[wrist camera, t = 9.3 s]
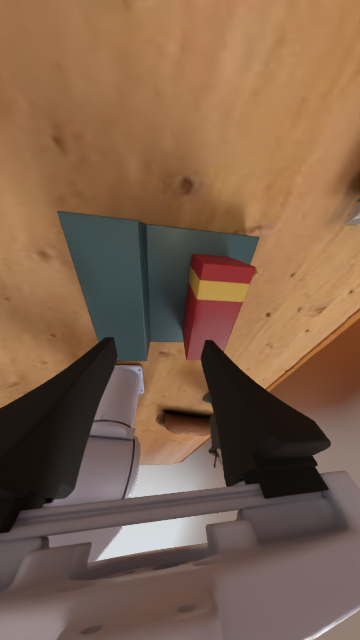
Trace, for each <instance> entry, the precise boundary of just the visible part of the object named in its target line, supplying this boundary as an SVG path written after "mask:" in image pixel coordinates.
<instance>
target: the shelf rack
mask: <svg viewBox="0 0 360 640" xmlns="http://www.w3.org/2000/svg"><path fill="white" fill-rule="evenodd" d="M57 213H58V216H59V219H60V223H61V226H62V229H63V232H64V235H65V238H66V242H67V245H68V248H69V251H70V254H71V257H72V260H73V264H74V267H75V270H76V273H77V276H78V279H79V282H80V286H81V289H82V292H83V295H84V298H85V301H86V305H87V308H88V311H89V314H90V317H91V320H92V323H93V327H94V330H95V333H96V336H97V339H98V342H100V341H101V340H102V339H104V338H105V337H114V340H115V345H116V350H117V354H118V357H117V361H147V357H148V351H149V345H150V342H184V341H183V334H182V329H183V322H184V314H185V306H186V298H187V291H188V283H189V281H188V280H189V273H190V266H191V260H192V254H203V255H214V256H224V257H231V258H233V259H236V260H238V261H241V262H244V263H246V264H249V265H250V263H251V260H252V257H253V255H254V252H255V249H256V246H257V243H258V240H259V237H254V236H246V235H237V234H229V233H220V232H212V231H203V230H195V229H186V228H178V227H169V226H161V225H152V224H145V223H142V222H140V221H138V220H130V219H122V218H114V217H105V216H97V215H89V214H80V213H72V212H63V211H57Z"/></svg>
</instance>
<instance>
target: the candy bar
mask: <svg viewBox="0 0 360 640" xmlns="http://www.w3.org/2000/svg"><path fill="white" fill-rule="evenodd" d="M255 269H256V267H254V266H251V265H249V264H246V263H244V262H241V261H238V260H236V259H233V258H231V257H224V256H214V255H203V254H192V260H191V266H190V273H189V280H188V281H189V283H188V291H187V298H186V306H185V314H184V322H183V329H182V334H183V341H184V348H185V355H186V359H187V360H201V354H202V350H203V347H204V343H205V340H213V341H214V342H215V343H216V344H217V345H218V347H219V348H220V349H221V350H222V351H223V352H224V350H225V347H226V345H227V342H228V339H229V337H230V334H231V332H232V329H233V326H234V324H235V321H236V319H237V316H238V313H239V311H240V308H241V306H242V303H243V302H244V299H245V297H246V294H247V292H248V289H249V286H250V282H251V279H252V277H253V274H254V272H255Z"/></svg>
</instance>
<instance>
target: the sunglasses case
mask: <svg viewBox="0 0 360 640" xmlns="http://www.w3.org/2000/svg"><path fill="white" fill-rule="evenodd" d="M156 423H158V424H159V425H161V426H163V427H165V428H166V429H167V430H168V431H170V432H172V433H174V434H194V435H199V436H207V435H211V430H210V418H208V419H207V418H197V417H187V416H182V415H174V414H168V413H165V412H164V411H163V412H162V413H161V414H160V415H159V417H158V419H157V420H156Z"/></svg>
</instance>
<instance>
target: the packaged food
mask: <svg viewBox="0 0 360 640" xmlns="http://www.w3.org/2000/svg"><path fill="white" fill-rule="evenodd" d="M346 224H347V225H357V224H360V195H359V197H358V198H357V200H356V202H355V203H354V205H353V209H352V212H351V213H350V214H349V218H348V219H347V221H346Z"/></svg>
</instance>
